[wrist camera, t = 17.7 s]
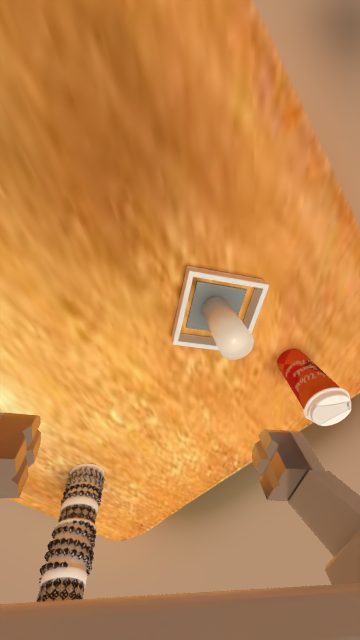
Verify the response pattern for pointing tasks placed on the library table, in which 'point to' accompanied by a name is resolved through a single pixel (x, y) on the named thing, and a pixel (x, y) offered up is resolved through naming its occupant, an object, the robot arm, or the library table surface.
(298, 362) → the paper cup
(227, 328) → the white pillar candle
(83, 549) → the decorative candle
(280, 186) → the library table surface
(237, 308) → the corral
